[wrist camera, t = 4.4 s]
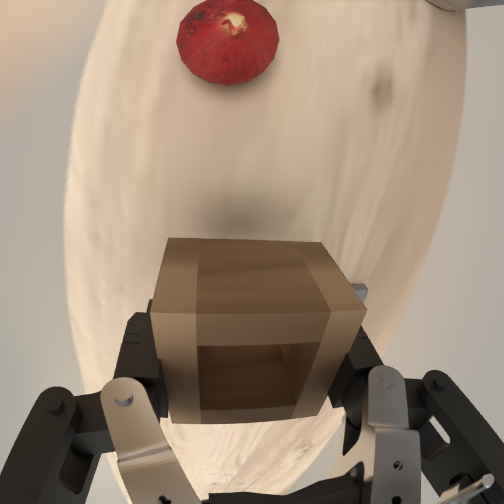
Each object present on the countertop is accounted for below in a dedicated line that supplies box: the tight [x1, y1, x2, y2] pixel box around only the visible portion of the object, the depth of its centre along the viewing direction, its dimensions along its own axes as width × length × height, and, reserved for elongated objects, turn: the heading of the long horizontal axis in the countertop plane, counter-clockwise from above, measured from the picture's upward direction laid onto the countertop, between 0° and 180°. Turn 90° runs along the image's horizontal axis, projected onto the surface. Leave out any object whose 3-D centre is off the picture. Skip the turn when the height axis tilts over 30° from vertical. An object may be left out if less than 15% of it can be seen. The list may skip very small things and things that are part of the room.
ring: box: [150, 238, 367, 424], centre depth 10 cm, size 6×6×4 cm
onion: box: [176, 0, 279, 85], centre depth 13 cm, size 6×6×8 cm
